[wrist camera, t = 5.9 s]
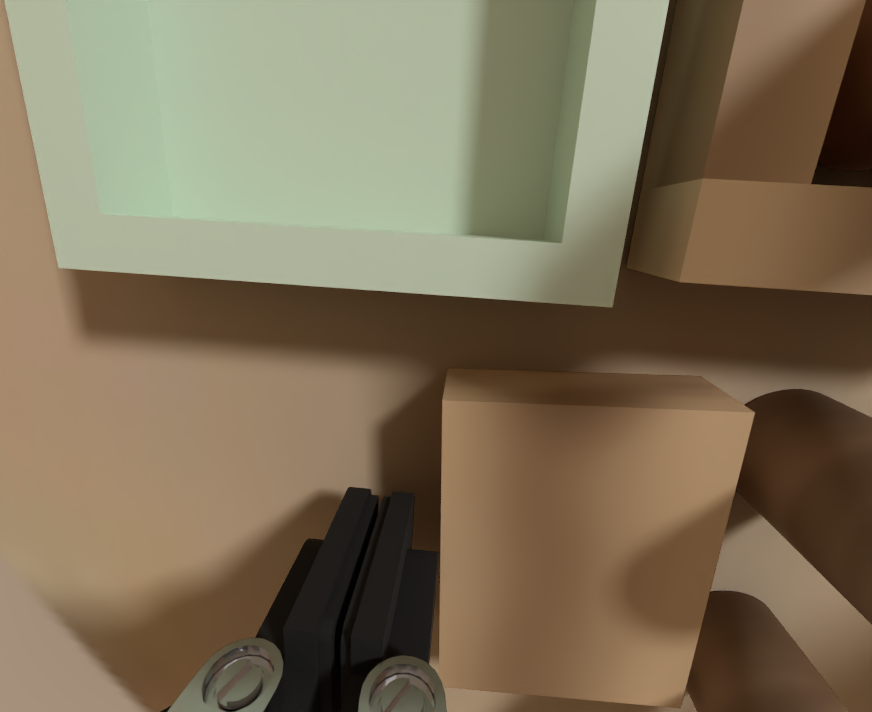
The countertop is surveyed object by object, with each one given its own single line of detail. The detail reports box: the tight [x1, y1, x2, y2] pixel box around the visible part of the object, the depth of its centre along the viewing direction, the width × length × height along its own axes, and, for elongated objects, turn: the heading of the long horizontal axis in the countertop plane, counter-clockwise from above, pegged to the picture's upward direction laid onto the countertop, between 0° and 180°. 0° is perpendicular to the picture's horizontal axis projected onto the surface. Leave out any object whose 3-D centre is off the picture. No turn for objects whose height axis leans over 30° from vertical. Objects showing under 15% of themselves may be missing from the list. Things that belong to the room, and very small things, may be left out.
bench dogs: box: [686, 389, 872, 712], centre depth 9 cm, size 3×9×5 cm, turn 176°
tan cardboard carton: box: [439, 368, 755, 708], centre depth 11 cm, size 6×8×2 cm
